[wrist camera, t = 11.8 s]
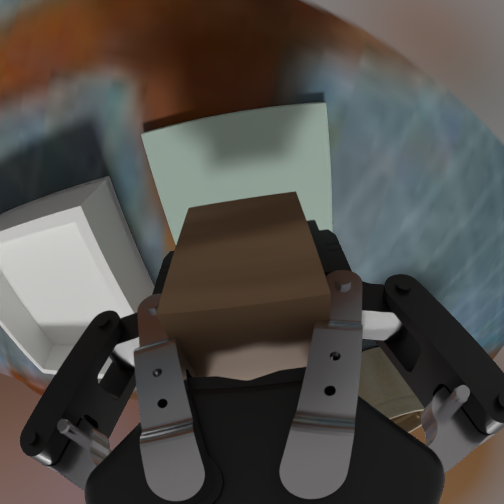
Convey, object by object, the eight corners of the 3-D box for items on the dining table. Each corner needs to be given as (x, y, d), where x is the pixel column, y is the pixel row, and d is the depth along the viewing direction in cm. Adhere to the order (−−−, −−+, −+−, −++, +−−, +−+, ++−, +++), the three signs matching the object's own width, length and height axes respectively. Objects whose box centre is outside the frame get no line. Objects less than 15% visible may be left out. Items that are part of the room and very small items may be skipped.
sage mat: (143, 132, 15) (141, 134, 15) (323, 101, 14) (326, 102, 14) (187, 270, 21) (186, 275, 20) (330, 250, 20) (332, 255, 20)
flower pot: (414, 360, 30) (436, 421, 23) (344, 391, 33) (357, 453, 26) (399, 322, 25) (430, 399, 18) (313, 362, 28) (326, 440, 21)
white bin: (-24, 224, 17) (-49, 250, 14) (109, 175, 16) (80, 205, 13) (54, 344, 27) (42, 372, 23) (182, 342, 26) (176, 379, 22)
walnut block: (188, 207, 12) (155, 314, 7) (295, 191, 12) (330, 294, 7) (212, 286, 15) (202, 393, 10) (302, 275, 15) (325, 381, 10)
